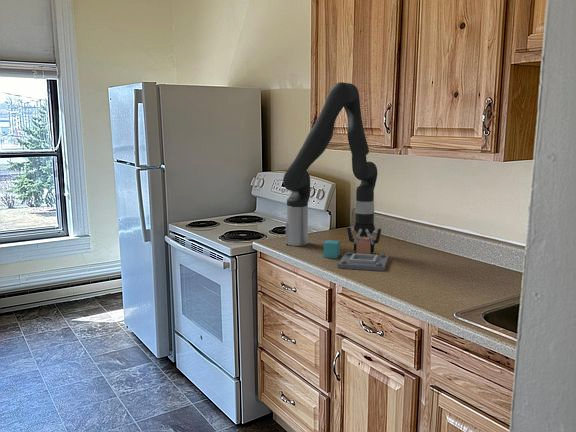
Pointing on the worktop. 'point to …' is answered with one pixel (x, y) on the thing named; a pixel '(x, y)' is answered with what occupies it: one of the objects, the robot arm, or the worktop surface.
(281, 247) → the worktop surface
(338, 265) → the plate
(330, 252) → the teal block
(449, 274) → the worktop surface
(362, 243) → the terracotta block
